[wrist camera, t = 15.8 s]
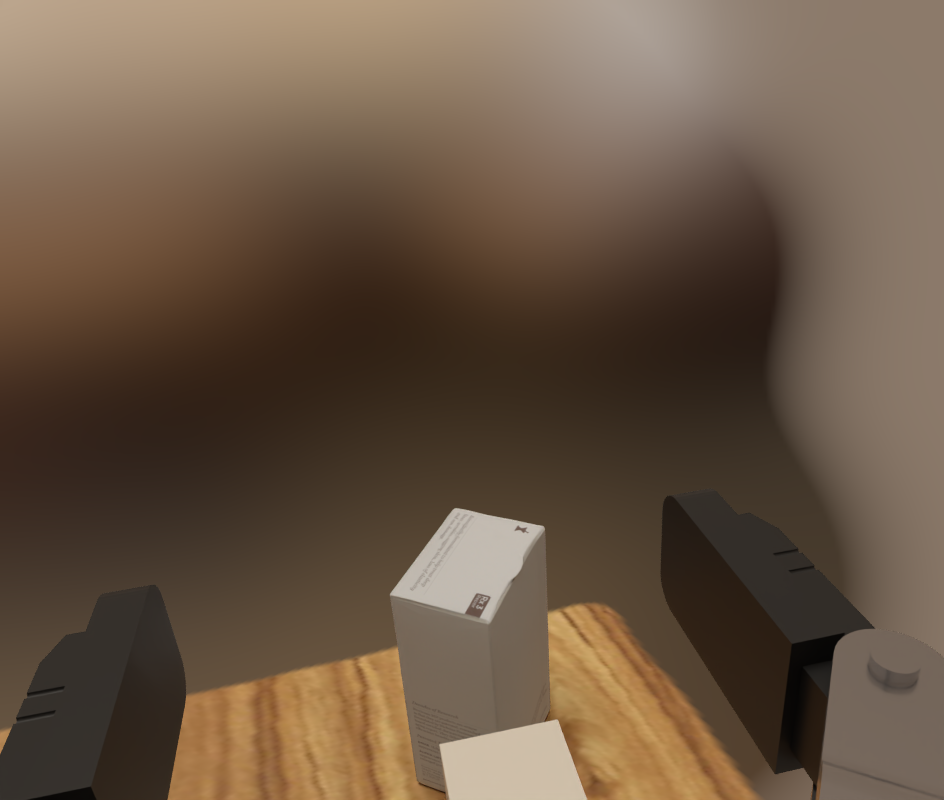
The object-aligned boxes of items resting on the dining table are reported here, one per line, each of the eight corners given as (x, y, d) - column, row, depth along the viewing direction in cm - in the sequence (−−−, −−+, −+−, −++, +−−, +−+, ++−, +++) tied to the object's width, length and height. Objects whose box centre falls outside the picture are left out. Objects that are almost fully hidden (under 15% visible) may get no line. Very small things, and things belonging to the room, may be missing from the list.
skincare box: (471, 688, 52) (451, 501, 46) (556, 712, 50) (548, 518, 44) (412, 791, 46) (380, 588, 39) (509, 825, 43) (491, 615, 37)
